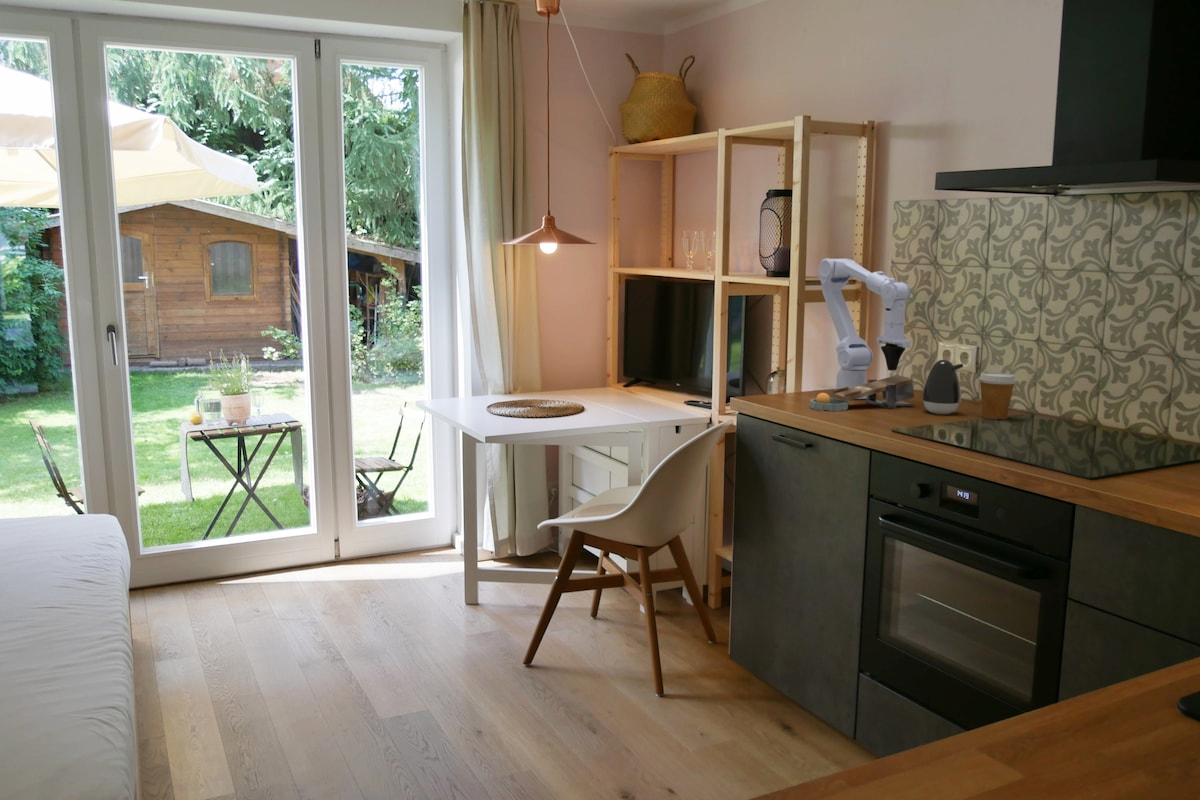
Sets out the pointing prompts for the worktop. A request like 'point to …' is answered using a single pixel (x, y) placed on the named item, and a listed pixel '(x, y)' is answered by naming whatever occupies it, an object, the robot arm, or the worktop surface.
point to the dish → (830, 405)
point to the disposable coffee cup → (996, 394)
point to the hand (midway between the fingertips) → (892, 370)
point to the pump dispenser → (942, 388)
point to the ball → (823, 398)
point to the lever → (878, 389)
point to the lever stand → (889, 397)
